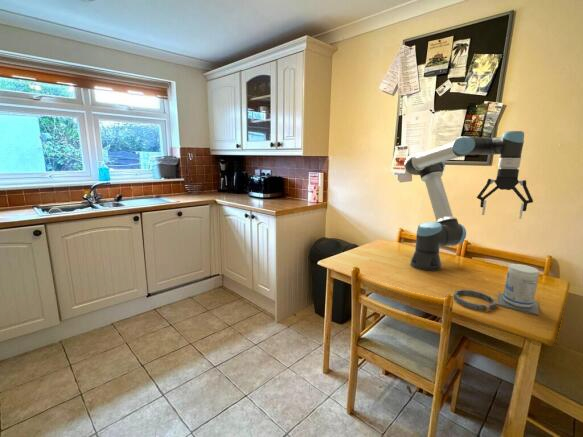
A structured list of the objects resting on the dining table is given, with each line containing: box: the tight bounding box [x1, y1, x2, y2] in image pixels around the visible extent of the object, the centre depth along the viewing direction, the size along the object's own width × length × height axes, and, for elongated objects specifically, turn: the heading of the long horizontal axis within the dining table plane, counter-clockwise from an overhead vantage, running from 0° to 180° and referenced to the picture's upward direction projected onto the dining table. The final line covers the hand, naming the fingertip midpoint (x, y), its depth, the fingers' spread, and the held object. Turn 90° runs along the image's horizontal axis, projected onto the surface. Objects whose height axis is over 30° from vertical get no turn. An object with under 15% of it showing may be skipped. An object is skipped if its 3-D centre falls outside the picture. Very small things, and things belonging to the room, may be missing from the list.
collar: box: [453, 289, 499, 313], centre depth 119 cm, size 15×14×2 cm
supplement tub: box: [503, 263, 540, 308], centre depth 117 cm, size 10×10×15 cm
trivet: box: [496, 292, 540, 317], centre depth 118 cm, size 13×13×1 cm
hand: (501, 216), depth 132 cm, fingers open, 13 cm apart
